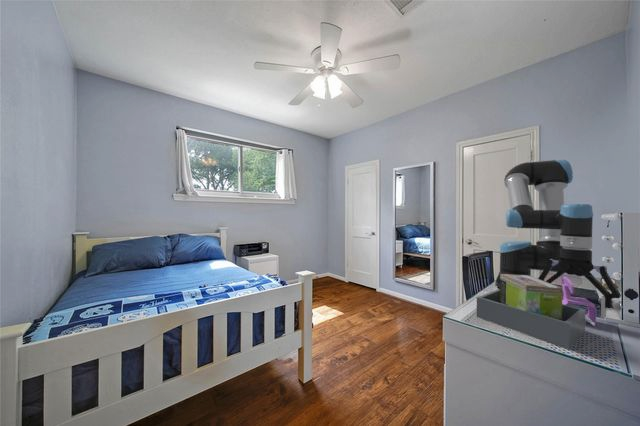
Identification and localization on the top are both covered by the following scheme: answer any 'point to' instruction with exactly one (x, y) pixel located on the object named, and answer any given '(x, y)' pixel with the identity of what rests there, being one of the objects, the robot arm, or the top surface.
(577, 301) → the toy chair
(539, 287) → the tea box
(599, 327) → the top surface
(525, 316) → the crate
